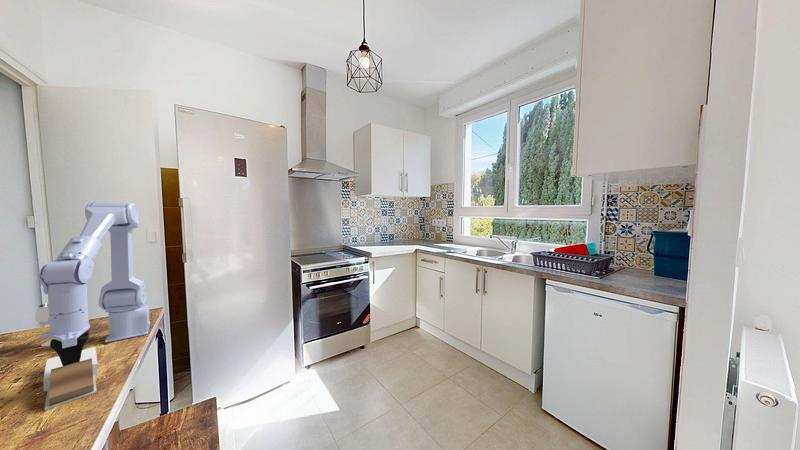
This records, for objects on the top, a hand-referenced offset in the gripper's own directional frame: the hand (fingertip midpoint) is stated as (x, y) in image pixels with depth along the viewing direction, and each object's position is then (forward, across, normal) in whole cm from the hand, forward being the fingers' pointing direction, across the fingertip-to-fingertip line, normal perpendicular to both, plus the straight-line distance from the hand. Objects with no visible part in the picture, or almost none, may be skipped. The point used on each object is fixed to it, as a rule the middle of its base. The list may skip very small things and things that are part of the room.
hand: (71, 366), depth 62 cm
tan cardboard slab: (+2, +5, 0) cm, 5 cm away
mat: (+4, +5, 0) cm, 6 cm away
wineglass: (+4, -33, -4) cm, 33 cm away
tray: (+4, -6, 0) cm, 7 cm away
